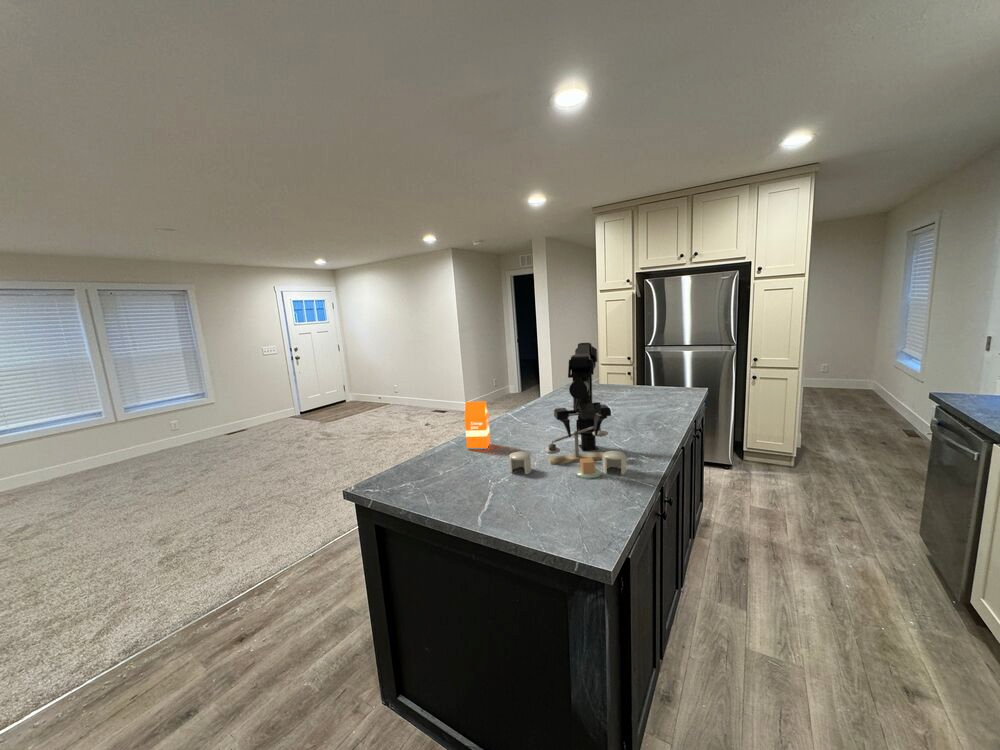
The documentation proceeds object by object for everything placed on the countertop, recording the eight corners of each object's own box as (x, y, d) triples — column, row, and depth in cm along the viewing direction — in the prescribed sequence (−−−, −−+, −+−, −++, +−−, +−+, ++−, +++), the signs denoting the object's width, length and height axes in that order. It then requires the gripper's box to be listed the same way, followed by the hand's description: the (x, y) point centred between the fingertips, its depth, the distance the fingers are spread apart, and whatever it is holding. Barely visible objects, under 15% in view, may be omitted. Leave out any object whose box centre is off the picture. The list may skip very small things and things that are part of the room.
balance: (547, 465, 146) (545, 430, 144) (544, 459, 152) (542, 426, 150) (610, 459, 148) (610, 425, 146) (605, 454, 153) (604, 421, 151)
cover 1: (509, 468, 146) (508, 452, 145) (529, 466, 146) (528, 450, 145) (511, 476, 139) (510, 459, 138) (532, 474, 139) (531, 457, 138)
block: (580, 469, 138) (579, 458, 138) (591, 468, 139) (591, 457, 138) (583, 474, 134) (583, 462, 134) (595, 473, 135) (594, 461, 134)
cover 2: (600, 468, 140) (600, 451, 140) (620, 466, 141) (620, 450, 140) (607, 476, 133) (607, 459, 132) (628, 474, 134) (628, 457, 133)
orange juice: (470, 444, 176) (467, 399, 173) (490, 444, 174) (487, 399, 171) (467, 450, 168) (463, 404, 165) (487, 450, 167) (484, 403, 164)
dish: (572, 469, 141) (572, 467, 140) (595, 467, 141) (595, 465, 141) (578, 479, 132) (578, 477, 132) (604, 477, 133) (604, 475, 133)
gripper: (560, 399, 128) (561, 445, 131) (616, 394, 129) (617, 441, 132) (552, 392, 139) (554, 435, 142) (605, 388, 140) (605, 431, 143)
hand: (582, 436), depth 139 cm, fingers open, 9 cm apart
